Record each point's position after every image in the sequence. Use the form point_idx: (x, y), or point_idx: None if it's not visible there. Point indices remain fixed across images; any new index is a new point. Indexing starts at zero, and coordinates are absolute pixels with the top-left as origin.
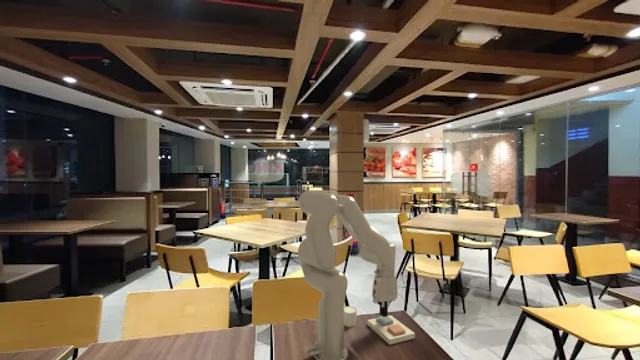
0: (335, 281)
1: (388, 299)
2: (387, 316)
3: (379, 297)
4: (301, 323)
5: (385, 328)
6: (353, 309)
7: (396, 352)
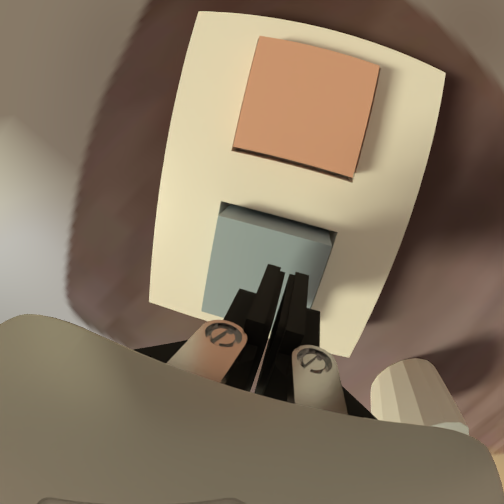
0: None
1: (247, 416)
2: (209, 291)
3: (496, 502)
4: None
5: (350, 193)
6: None
7: (423, 28)
